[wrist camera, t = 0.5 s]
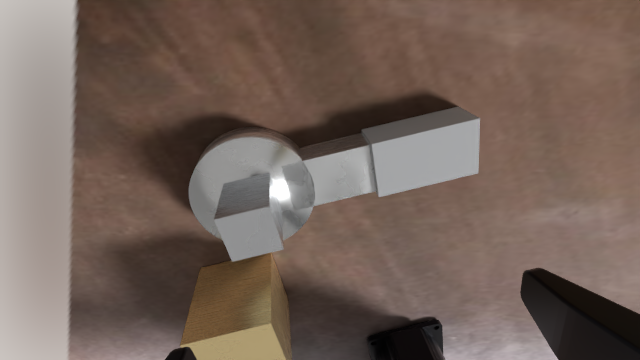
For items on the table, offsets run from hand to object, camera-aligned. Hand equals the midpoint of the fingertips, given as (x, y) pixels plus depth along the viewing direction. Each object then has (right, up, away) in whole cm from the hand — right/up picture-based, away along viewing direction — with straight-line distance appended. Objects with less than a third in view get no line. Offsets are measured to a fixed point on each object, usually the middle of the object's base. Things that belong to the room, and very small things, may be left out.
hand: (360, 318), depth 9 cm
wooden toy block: (-6, -4, +16) cm, 17 cm away
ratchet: (0, +5, +12) cm, 13 cm away
